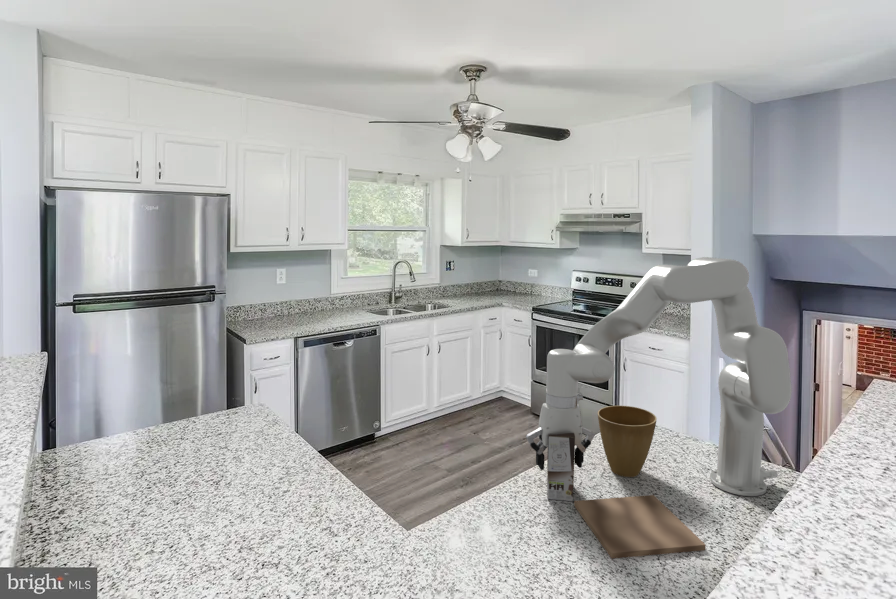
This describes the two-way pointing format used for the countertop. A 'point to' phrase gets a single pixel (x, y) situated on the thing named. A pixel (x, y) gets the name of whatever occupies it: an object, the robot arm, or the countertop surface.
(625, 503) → the walnut board
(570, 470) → the coffee box
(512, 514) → the countertop surface
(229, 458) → the countertop surface
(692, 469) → the countertop surface
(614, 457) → the plant pot
